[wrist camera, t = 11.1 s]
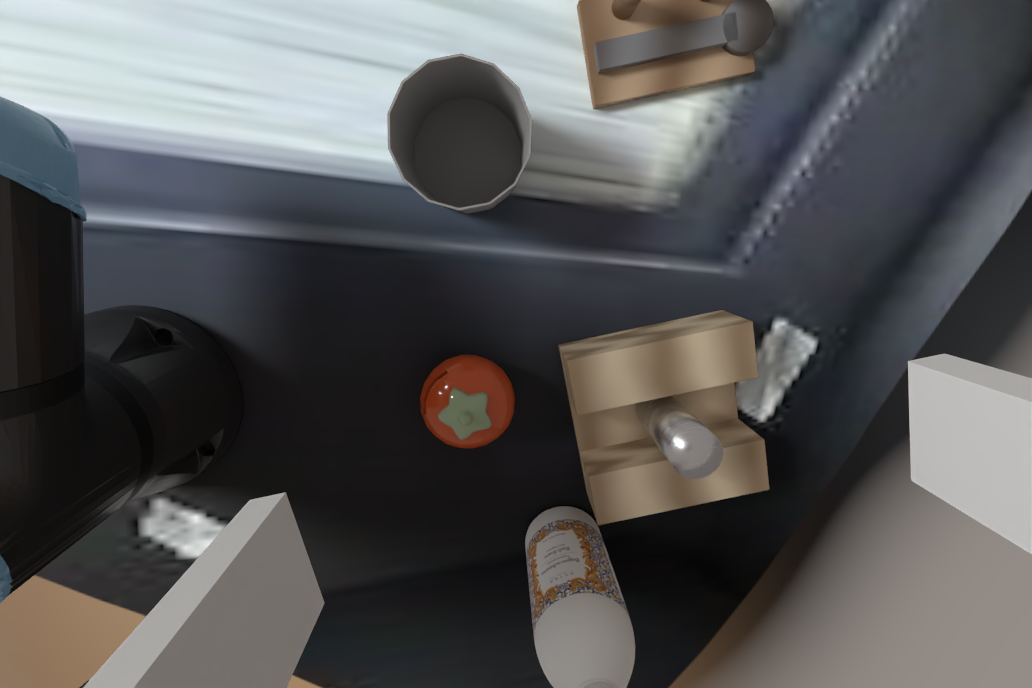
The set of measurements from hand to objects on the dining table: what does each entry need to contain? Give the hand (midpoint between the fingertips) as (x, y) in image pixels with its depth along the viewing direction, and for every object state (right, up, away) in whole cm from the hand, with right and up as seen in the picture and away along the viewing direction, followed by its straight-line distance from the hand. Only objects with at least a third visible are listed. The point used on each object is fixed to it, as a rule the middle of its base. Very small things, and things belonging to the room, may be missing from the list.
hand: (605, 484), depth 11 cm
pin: (+10, -3, +33) cm, 34 cm away
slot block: (+10, -2, +34) cm, 35 cm away
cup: (-6, +17, +28) cm, 34 cm away
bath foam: (+2, -15, +36) cm, 39 cm away
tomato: (-6, -1, +33) cm, 33 cm away
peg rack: (+9, +25, +27) cm, 38 cm away
